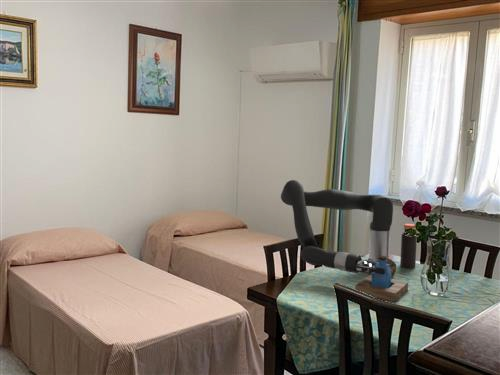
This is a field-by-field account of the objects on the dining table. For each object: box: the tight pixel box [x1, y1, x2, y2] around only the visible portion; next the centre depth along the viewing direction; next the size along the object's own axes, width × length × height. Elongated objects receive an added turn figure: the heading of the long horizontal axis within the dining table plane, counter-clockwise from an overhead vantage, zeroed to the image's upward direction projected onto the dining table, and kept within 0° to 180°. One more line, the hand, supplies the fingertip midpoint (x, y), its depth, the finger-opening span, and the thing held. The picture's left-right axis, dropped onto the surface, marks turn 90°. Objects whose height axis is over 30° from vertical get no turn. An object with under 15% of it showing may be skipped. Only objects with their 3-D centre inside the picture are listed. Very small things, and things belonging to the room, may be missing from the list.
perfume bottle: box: [371, 256, 392, 288], centre depth 195 cm, size 6×6×12 cm
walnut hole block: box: [354, 274, 409, 303], centre depth 196 cm, size 16×16×4 cm
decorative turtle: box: [377, 257, 398, 277], centre depth 217 cm, size 10×15×8 cm, turn 7°
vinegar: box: [400, 223, 418, 269], centre depth 232 cm, size 7×7×20 cm
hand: (387, 269), depth 194 cm, fingers closed on perfume bottle, 6 cm apart
